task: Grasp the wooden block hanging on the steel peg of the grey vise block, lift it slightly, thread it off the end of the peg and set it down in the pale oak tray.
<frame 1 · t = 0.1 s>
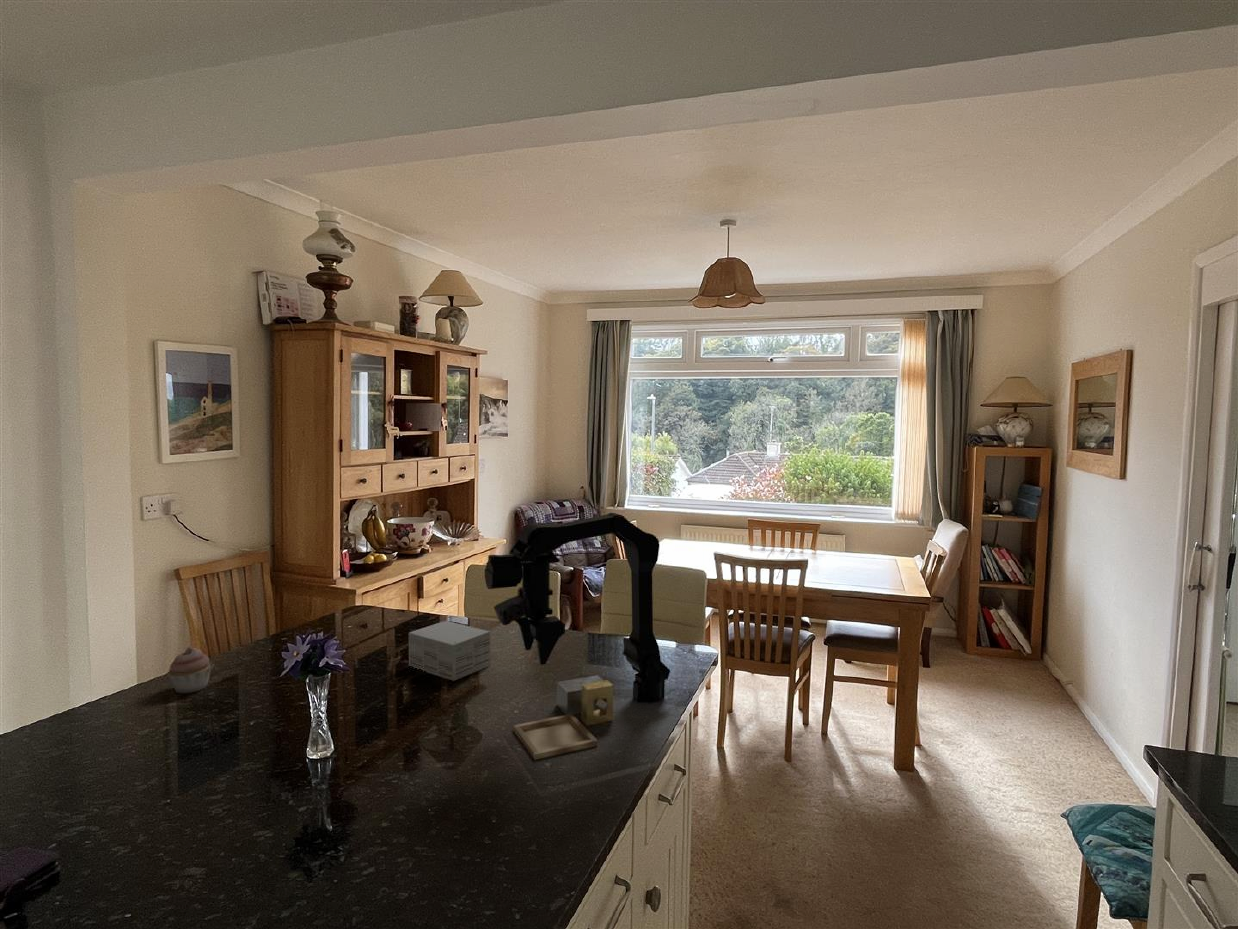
hand: (535, 657, 140), 15 cm above the kitchen island, tool pointing down, fingers open, 9 cm apart
wooden block: (596, 720, 142), point 1 cm above the kitchen island, touching vise block
tray: (554, 741, 134), on the kitchen island
vise block: (582, 709, 148), on the kitchen island
cupcake: (191, 689, 155), on the kitchen island
supplement box: (449, 667, 173), on the kitchen island
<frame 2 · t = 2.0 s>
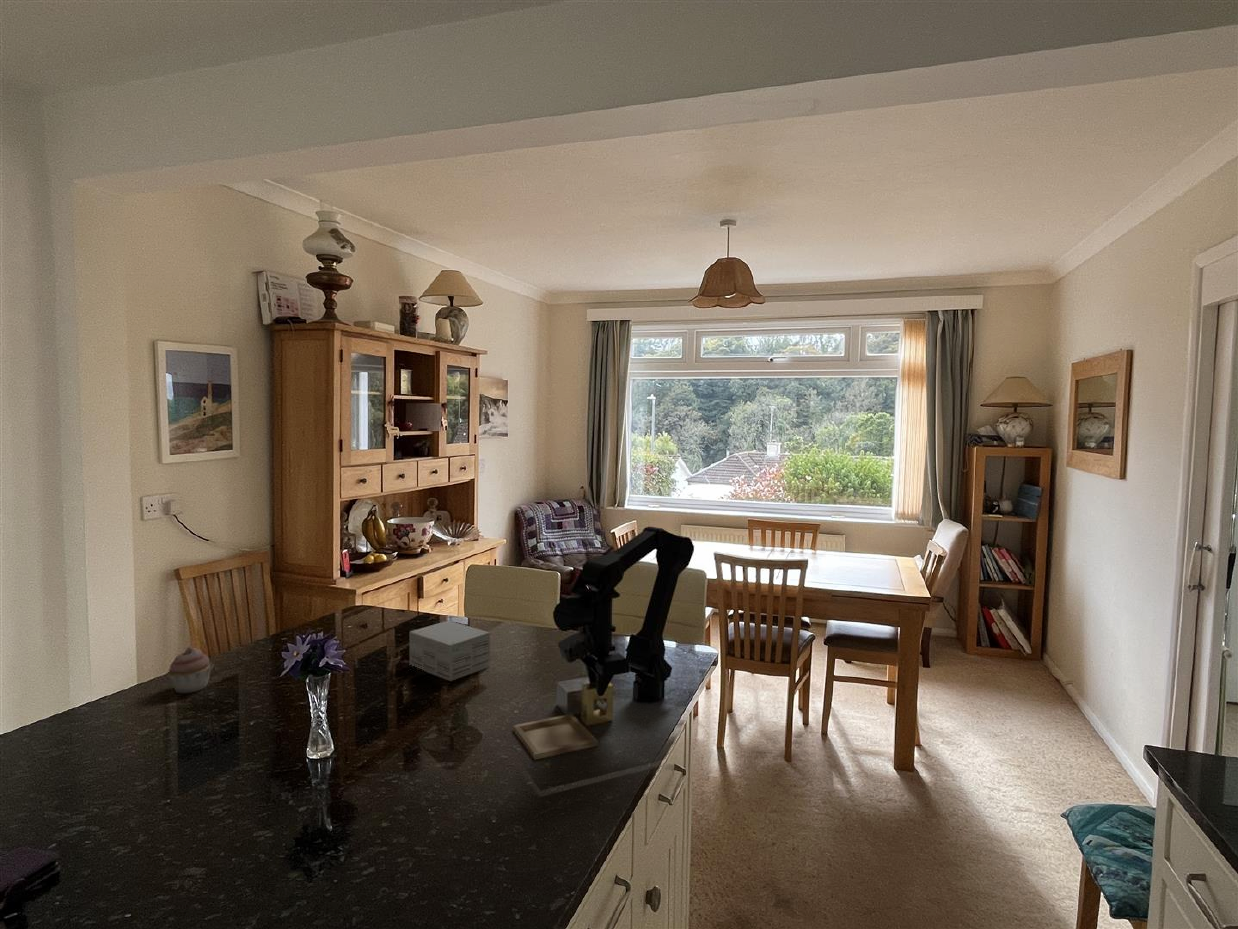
hand: (597, 692, 141), 7 cm above the kitchen island, tool pointing down, fingers closed on wooden block, 3 cm apart
wooden block: (596, 720, 142), point 1 cm above the kitchen island, touching gripper, vise block
everything else where it was.
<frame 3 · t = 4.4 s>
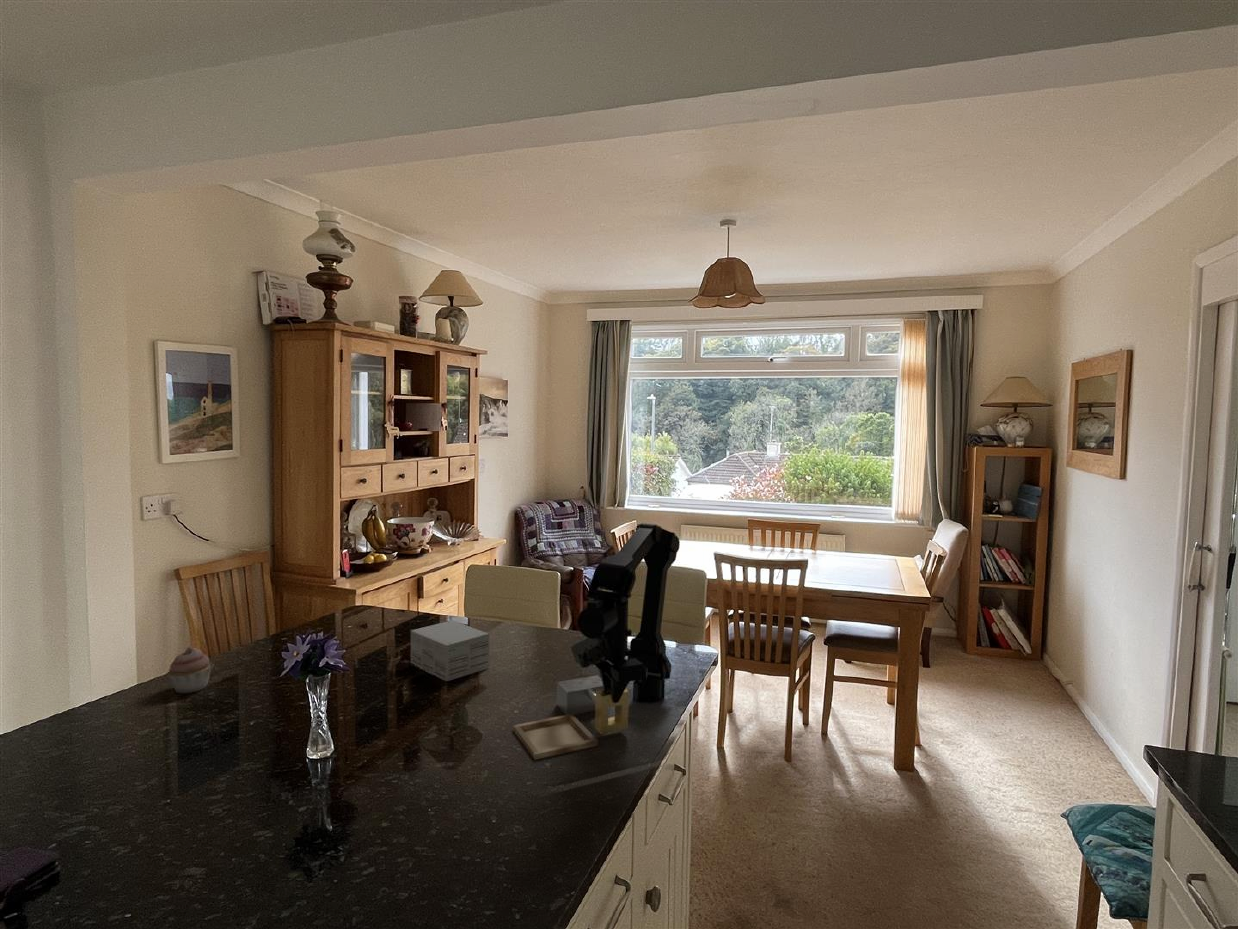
hand: (612, 699, 135), 8 cm above the kitchen island, tool pointing down, fingers closed on wooden block, 3 cm apart
wooden block: (611, 728, 135), point 2 cm above the kitchen island, touching gripper
everything else where it was.
when the fingers open (8 cm above the kitchen island, at t = 6.6 s): wooden block stays where it is, resting on tray.
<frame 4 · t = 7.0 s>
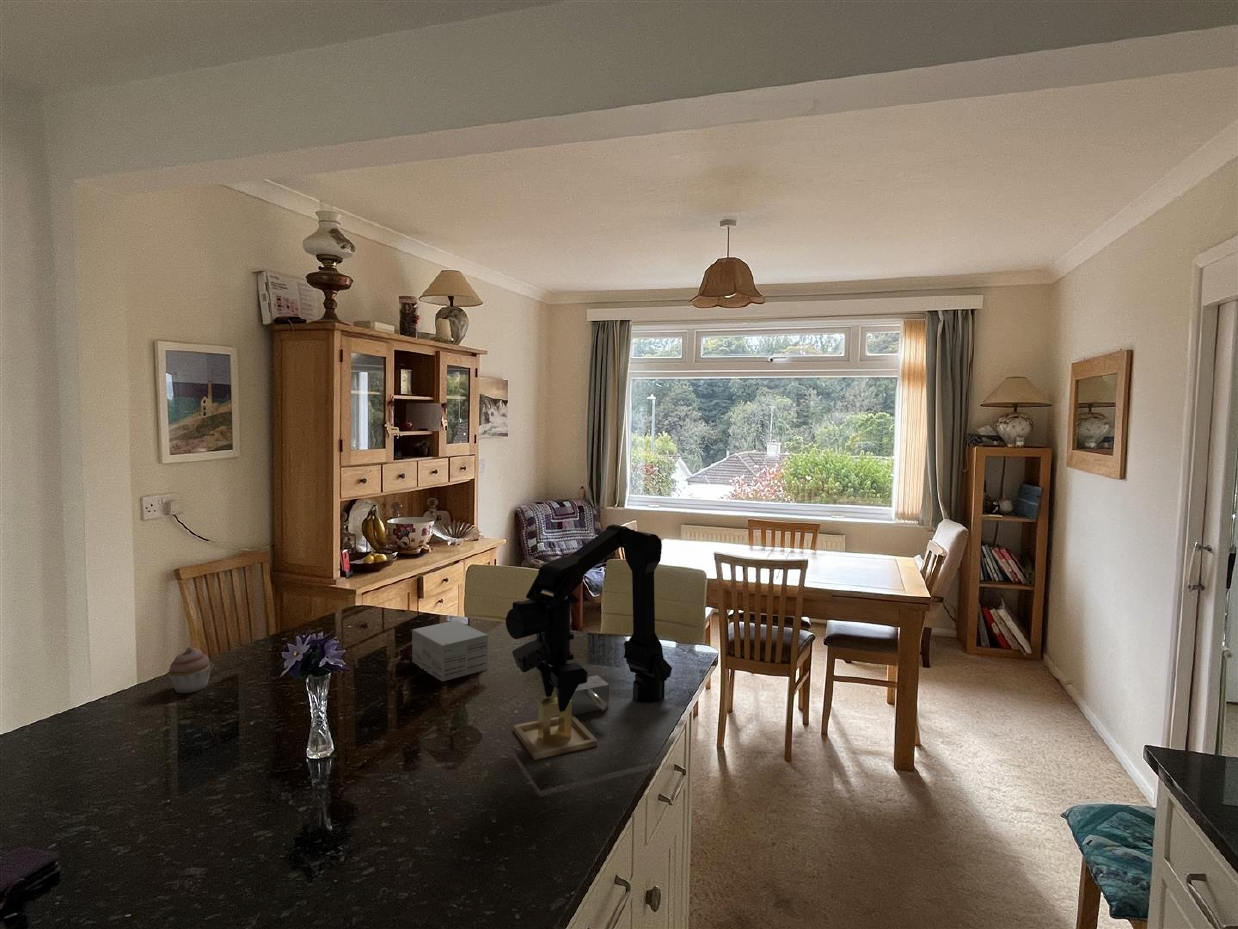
hand: (555, 703, 133), 8 cm above the kitchen island, tool pointing down, fingers open, 7 cm apart
wooden block: (554, 737, 134), point 1 cm above the kitchen island, touching tray
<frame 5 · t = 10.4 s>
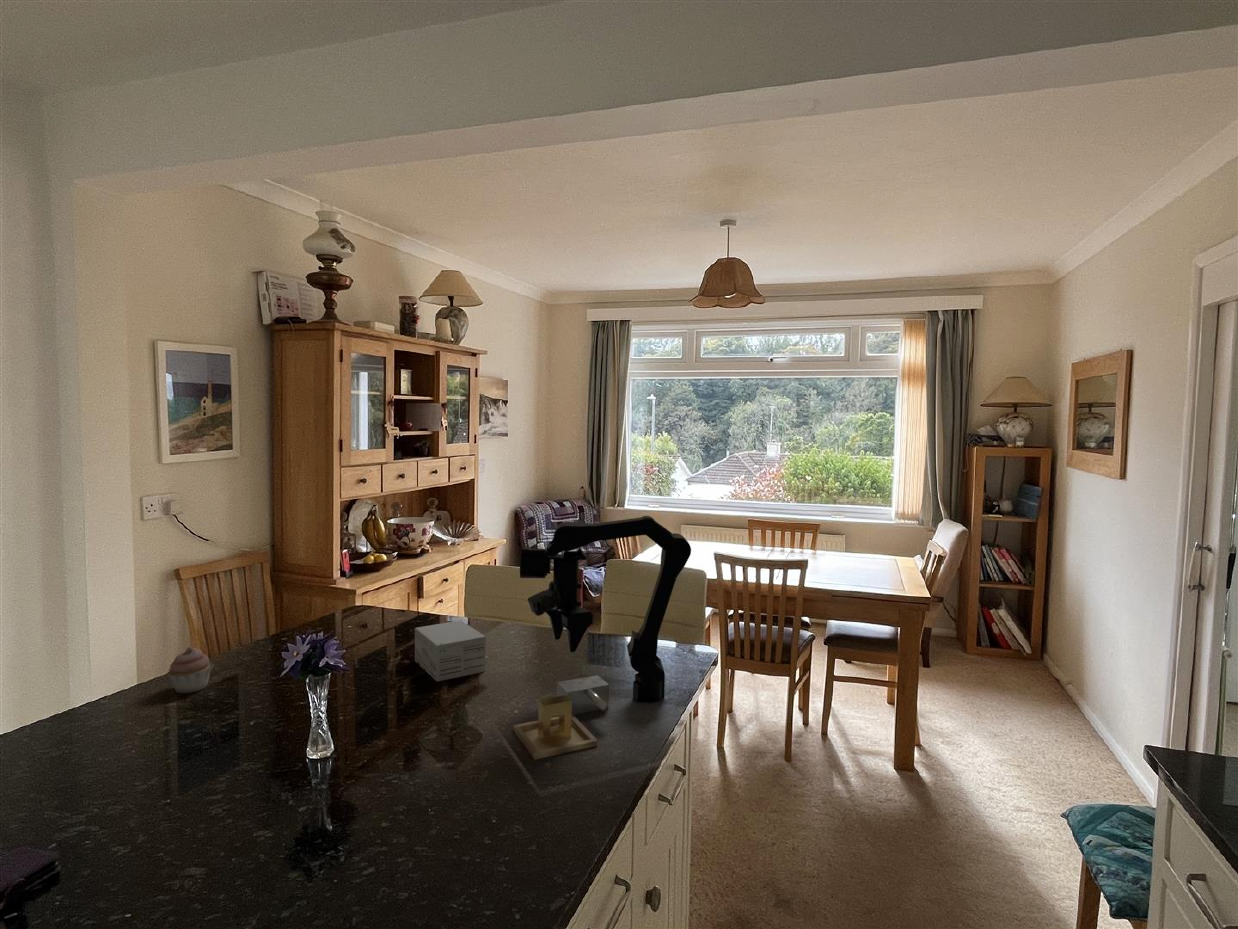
hand: (564, 645, 152), 13 cm above the kitchen island, tool pointing down, fingers open, 9 cm apart
at the end: wooden block inside the target area on the tray (0.0 cm from its centre), point 0.8 cm above the tray's base; wooden block touching tray; the gripper is holding nothing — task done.
